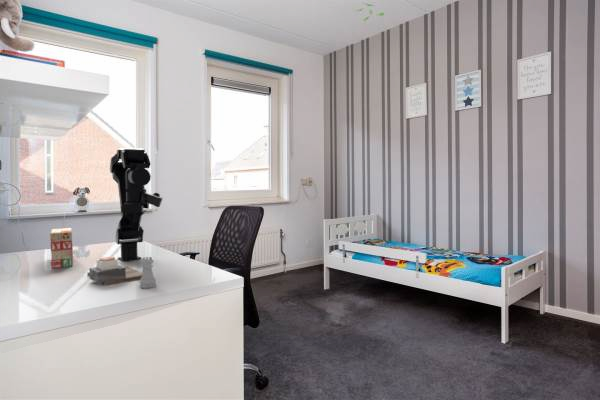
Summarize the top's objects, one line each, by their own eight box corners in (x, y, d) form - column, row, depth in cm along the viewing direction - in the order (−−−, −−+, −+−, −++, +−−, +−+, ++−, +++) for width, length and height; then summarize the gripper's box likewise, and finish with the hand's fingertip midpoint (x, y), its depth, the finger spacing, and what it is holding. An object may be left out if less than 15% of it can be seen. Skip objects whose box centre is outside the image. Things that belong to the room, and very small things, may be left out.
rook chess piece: (145, 289, 103) (144, 260, 103) (135, 287, 106) (134, 258, 105) (159, 285, 107) (159, 257, 106) (150, 283, 109) (149, 255, 109)
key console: (81, 276, 117) (80, 263, 117) (127, 269, 127) (126, 257, 127) (98, 286, 106) (98, 272, 106) (147, 277, 116) (147, 264, 115)
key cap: (96, 274, 111) (96, 258, 111) (112, 271, 114) (112, 256, 114) (102, 276, 108) (101, 260, 108) (118, 273, 111) (117, 258, 111)
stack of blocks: (54, 258, 147) (52, 226, 147) (73, 256, 151) (71, 225, 150) (51, 268, 129) (49, 232, 128) (73, 266, 132) (71, 231, 132)
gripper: (157, 185, 122) (159, 234, 123) (163, 185, 140) (164, 227, 141) (119, 186, 120) (121, 235, 120) (130, 185, 138) (131, 228, 138)
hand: (136, 231), depth 130 cm, fingers closed
